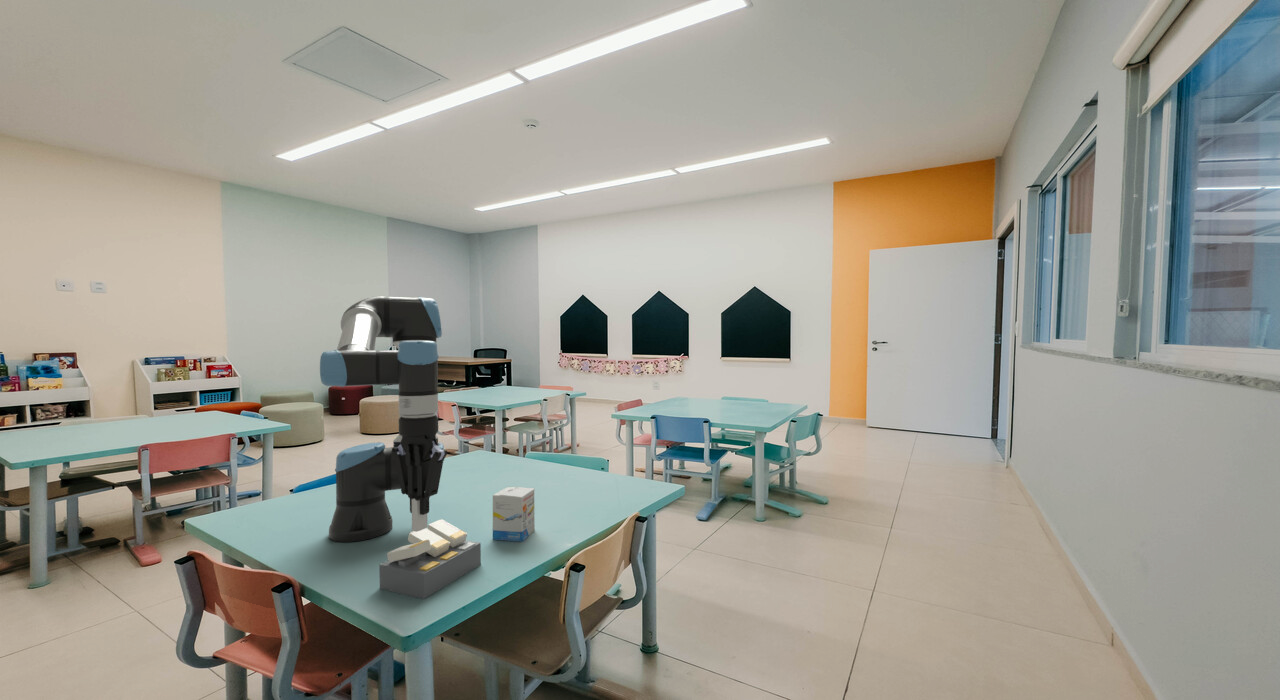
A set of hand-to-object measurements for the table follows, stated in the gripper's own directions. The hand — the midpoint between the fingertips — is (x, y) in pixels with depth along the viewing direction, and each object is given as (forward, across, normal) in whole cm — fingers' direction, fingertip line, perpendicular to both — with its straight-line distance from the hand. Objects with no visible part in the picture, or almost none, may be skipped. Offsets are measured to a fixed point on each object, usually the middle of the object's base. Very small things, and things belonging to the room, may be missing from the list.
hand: (419, 529), depth 105 cm
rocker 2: (+5, -3, +6) cm, 8 cm away
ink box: (+13, 0, +32) cm, 35 cm away
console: (+12, -2, +6) cm, 14 cm away
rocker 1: (+5, -3, 0) cm, 6 cm away
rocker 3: (+5, -3, +11) cm, 13 cm away
